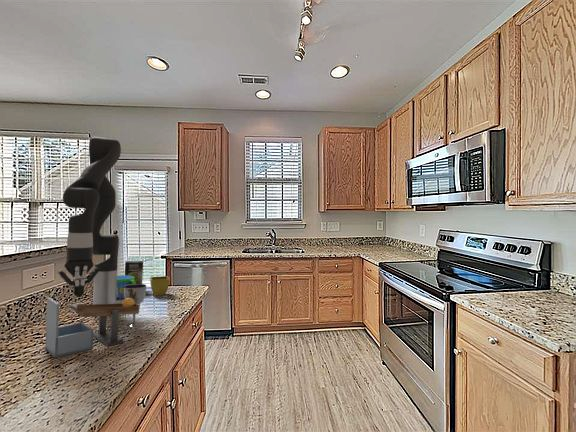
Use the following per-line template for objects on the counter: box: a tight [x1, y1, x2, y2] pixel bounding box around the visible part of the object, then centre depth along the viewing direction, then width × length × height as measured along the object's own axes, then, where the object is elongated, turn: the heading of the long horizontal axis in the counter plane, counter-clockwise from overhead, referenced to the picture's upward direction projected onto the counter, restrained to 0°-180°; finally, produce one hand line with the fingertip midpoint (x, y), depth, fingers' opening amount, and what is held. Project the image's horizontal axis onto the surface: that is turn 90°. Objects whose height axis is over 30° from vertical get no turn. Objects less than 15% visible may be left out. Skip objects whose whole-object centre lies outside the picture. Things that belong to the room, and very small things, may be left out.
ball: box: [121, 298, 135, 307], centre depth 120 cm, size 4×4×4 cm
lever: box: [69, 302, 141, 318], centre depth 117 cm, size 14×18×3 cm
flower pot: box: [149, 275, 170, 297], centre depth 177 cm, size 9×9×9 cm
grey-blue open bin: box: [44, 297, 94, 359], centre depth 106 cm, size 10×10×16 cm
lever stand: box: [93, 303, 125, 347], centre depth 115 cm, size 13×5×11 cm, turn 49°
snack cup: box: [116, 274, 136, 299], centre depth 170 cm, size 16×10×10 cm
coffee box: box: [124, 260, 144, 284], centre depth 184 cm, size 9×6×16 cm
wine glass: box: [123, 283, 147, 329], centre depth 130 cm, size 8×8×15 cm
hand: (78, 296), depth 115 cm, fingers closed
